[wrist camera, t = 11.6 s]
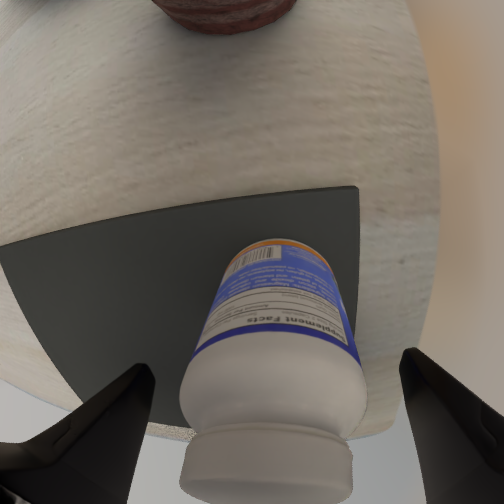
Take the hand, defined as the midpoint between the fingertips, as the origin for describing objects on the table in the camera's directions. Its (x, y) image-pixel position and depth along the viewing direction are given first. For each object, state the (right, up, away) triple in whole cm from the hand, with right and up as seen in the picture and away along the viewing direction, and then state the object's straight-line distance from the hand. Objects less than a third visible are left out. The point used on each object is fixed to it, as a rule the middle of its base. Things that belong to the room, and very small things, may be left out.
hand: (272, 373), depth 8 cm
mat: (-7, -3, +9) cm, 12 cm away
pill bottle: (+1, +2, +5) cm, 5 cm away
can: (-2, +16, -1) cm, 16 cm away
